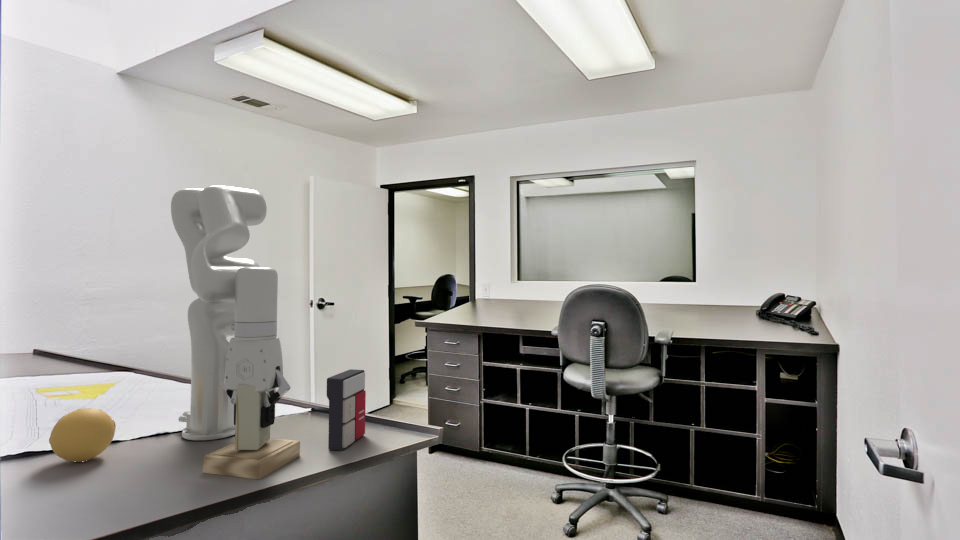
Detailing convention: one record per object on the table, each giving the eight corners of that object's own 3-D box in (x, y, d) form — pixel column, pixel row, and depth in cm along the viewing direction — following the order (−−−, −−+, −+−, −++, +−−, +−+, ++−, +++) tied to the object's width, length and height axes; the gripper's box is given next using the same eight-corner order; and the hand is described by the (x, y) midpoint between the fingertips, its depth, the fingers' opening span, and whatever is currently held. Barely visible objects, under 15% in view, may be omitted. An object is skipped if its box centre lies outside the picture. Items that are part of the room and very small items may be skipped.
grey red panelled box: (344, 451, 101) (345, 379, 101) (325, 450, 102) (326, 378, 102) (366, 435, 112) (367, 369, 112) (349, 434, 113) (350, 368, 113)
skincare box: (248, 439, 97) (250, 378, 97) (271, 439, 97) (272, 378, 97) (233, 450, 91) (235, 385, 91) (257, 450, 91) (259, 385, 91)
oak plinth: (203, 472, 90) (203, 455, 90) (248, 450, 101) (249, 435, 101) (259, 479, 87) (259, 461, 87) (299, 456, 98) (299, 440, 98)
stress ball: (100, 470, 92) (137, 425, 100) (58, 441, 87) (100, 395, 95) (66, 472, 96) (104, 427, 103) (23, 443, 90) (67, 399, 98)
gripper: (203, 331, 93) (201, 426, 93) (282, 334, 89) (280, 434, 88) (232, 327, 100) (230, 416, 100) (306, 330, 96) (304, 422, 96)
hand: (254, 423), depth 94 cm, fingers closed on skincare box, 5 cm apart
